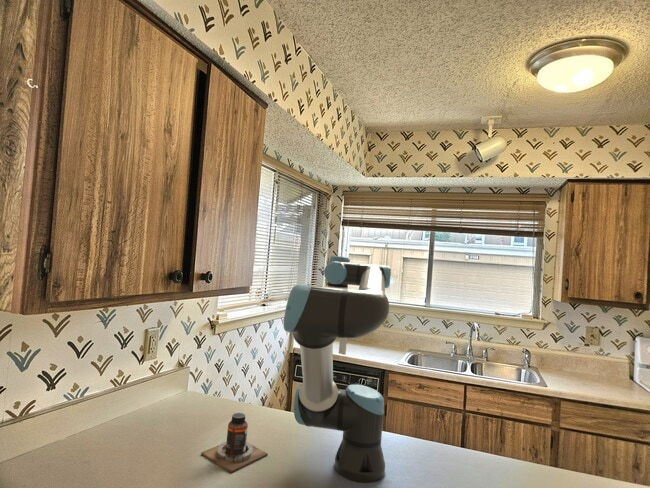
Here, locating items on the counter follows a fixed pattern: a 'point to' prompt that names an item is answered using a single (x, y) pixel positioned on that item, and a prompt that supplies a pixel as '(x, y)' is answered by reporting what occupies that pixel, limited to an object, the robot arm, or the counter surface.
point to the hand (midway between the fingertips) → (331, 356)
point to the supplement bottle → (236, 435)
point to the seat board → (233, 466)
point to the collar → (234, 458)
